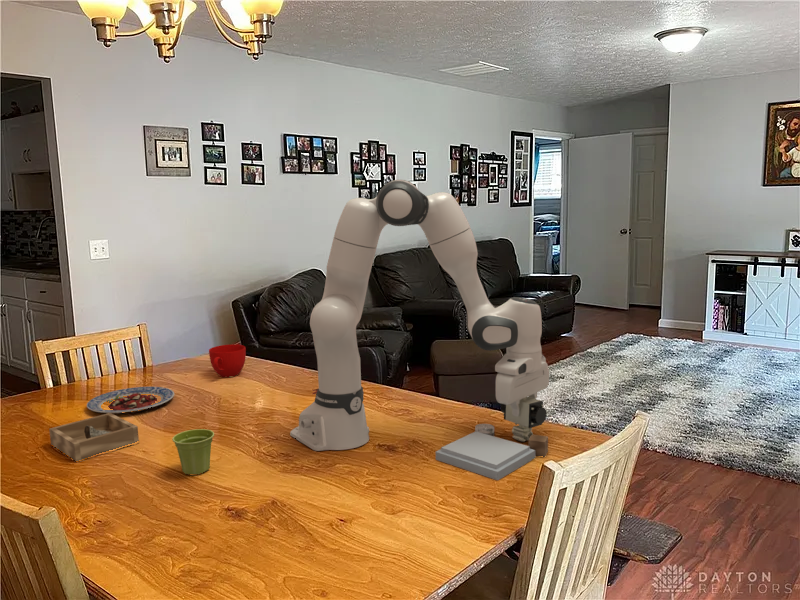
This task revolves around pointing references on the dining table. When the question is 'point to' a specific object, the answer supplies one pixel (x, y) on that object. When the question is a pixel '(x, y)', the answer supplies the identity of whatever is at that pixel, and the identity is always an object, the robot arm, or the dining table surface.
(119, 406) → the ceramic plate
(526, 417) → the pneumatic valve
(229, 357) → the ceramic cup
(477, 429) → the grey metal bushing
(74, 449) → the rock tray
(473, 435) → the stand
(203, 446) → the plant pot
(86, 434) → the rock sample
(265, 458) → the dining table surface
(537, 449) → the walnut block
